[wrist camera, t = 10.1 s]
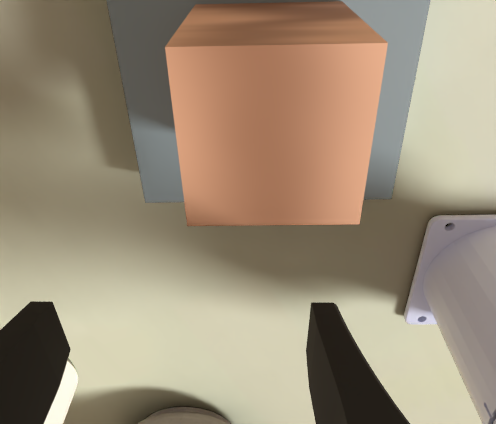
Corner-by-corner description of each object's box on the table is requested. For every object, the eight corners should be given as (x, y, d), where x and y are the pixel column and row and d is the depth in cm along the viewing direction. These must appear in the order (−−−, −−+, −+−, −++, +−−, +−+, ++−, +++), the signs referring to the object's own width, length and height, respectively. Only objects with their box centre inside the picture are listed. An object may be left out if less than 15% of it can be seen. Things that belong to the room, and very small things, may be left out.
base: (424, -107, 15) (452, -112, 13) (378, 171, 21) (391, 198, 19) (110, -97, 15) (87, -101, 13) (156, 175, 21) (145, 202, 19)
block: (342, 1, 14) (387, 43, 9) (329, 137, 17) (359, 224, 12) (195, 4, 15) (165, 47, 10) (206, 139, 17) (187, 226, 12)
